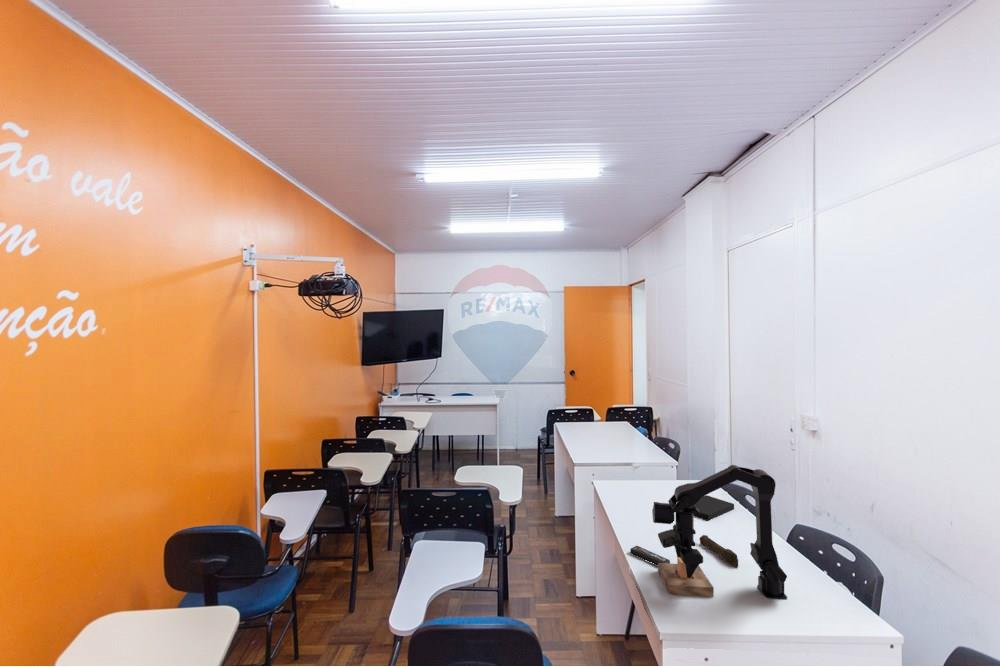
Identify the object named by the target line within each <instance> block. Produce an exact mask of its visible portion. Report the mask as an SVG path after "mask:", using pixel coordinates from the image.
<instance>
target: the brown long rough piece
mask: <svg viewBox="0 0 1000 667" xmlns="http://www.w3.org/2000/svg"><path fill="white" fill-rule="evenodd" d="M699 543H700V544H701V545H702V544H703V545H702V546H703V547H706V548H708V549H709V550H711V552H713V553H715V554H716V555H718V556H719V557H721V558H722V559H723V561H724V562H725V563H727V564H728V565H730V566H732V567H735V568H739V558H738V555H737V553H735V551H733V550H731V549H729V548H725V547H723V546H722V545H720V544H718V543H717V542H715V541H714V540H713V539H711V538H710V537H709V536H708V534H707V535H706V534H702V536H700V537H699Z"/></svg>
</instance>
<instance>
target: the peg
mask: <svg viewBox="0 0 1000 667" xmlns="http://www.w3.org/2000/svg"><path fill="white" fill-rule="evenodd" d="M676 558H677V559H676V560H677V563H676V564H677V576H678V578H681V579H692V577H691V578H687V574H686V568H685V563H684V562H683V561H682V560H681V558H680V557H677V556H676Z"/></svg>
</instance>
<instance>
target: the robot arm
mask: <svg viewBox="0 0 1000 667" xmlns="http://www.w3.org/2000/svg"><path fill="white" fill-rule="evenodd" d="M737 481H740V482H742V483H745V484H746V485H749V486H751V489H752V492H753V495H754V499H755V500H754V501H755V502H754V503H755V522H756V524H755V525H756V526H755V527H756V540H755V542H754V543H753V542H750V543H749V544H750V553H749V554H750V556H751V558H753V560H754V561H755V563H756V564H757V566H758V567H759V568H760V570H759V575H758V576H757V577H758V578H757V588H758V590H760V592H761V593H762V594H763V595H764V596H765V598H768V599H785V600H787V599H788V596H787V595H786V594H785V582H786V580H787V578H788V575H787V573H785V571H784V570H783V569H782V568H781V566H780V564H779V561H778V560H779V559H778V556H777V554H776V550H775V547H774V544H773V526H772V525H773V524H772V500H773V498H774V496H775V492H776V480H775V479H774V478H773V477H772V476H771V475H770V474H769V473H767V472H766V471H765V470H763V469H757V468H756V469H752V468H748V467H742V466H739V465H735V464H732V465H729V466H728V467H726V468H724V469H723V470H720V471H718V472H715V473H714V474H712V475H709V476H707V477H706V478H704V479H701V480H698V481H697V482H691V483H690V482H689V483H685V484H681V485H678V486H677V487H675V489H674V494H673V495H672V496H671V497H670V498H669V499H668V502H667V503H666V502H665V503H664V502H657V501H654V502H653V505H652V512H651V513H652V522H653V523H654V524H662V525H663V524H664V525H665V524H666V525H671V524H673V523H674V522H675V524H673V526H672V529H668V530H667V529H666V530H664V531H661V532H658V533H657V536H658V539H659V542H660V544H661V546H662V547H663V548H665V549H667V548H672V547H674V550H675V554H676V558H677V557H680V558H681V560H682V561H683V562H684V563H685V568H686V574H687V578H691V577H692V575H693V573H694V572H695V570H696V568H697V567H698V565H699V566H700V565H702V564H703V563H704V556H703V555H702V553H701V552H700V550H699V549H698V548H693V547H696V546H697V545H696V542H695V541H694V535H696V530H695V529H694V523H695V522H694V521H695V520H694V517H695V516H694V514H700V512H699V510H698V509H697V508H696V507H695V504H696V503H698V502H699V501H700V500H701V499H702V498H703V497H704V496H706V495H707V496H708V494H711V493H713V492H715V491H717V490H719V489H721V488H723V487H725V486H728V485H729V484H732V483H734V482H737Z"/></svg>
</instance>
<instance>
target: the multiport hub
mask: <svg viewBox="0 0 1000 667" xmlns="http://www.w3.org/2000/svg"><path fill="white" fill-rule="evenodd" d="M632 554H633V555H632ZM630 555H632V556H634V555H635V556H634V557H636V556H638V557H640V558H639V559H641V558H642V559H641V560H643V559H644V560H643V561H645V560H647V561H649V562H652V563H654V564H656V565H658V563H670V564H671V560H670V559H668V558H667V557H663V556H661V555H660V554H657V553H654V552H652V551H651V550H648V549H646V548H644V547H641V546H639V545H635V546H632V547H631V548H630ZM638 557H637V558H638ZM647 561H646V562H647ZM649 562H648V563H649ZM656 565H655V566H656Z"/></svg>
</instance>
